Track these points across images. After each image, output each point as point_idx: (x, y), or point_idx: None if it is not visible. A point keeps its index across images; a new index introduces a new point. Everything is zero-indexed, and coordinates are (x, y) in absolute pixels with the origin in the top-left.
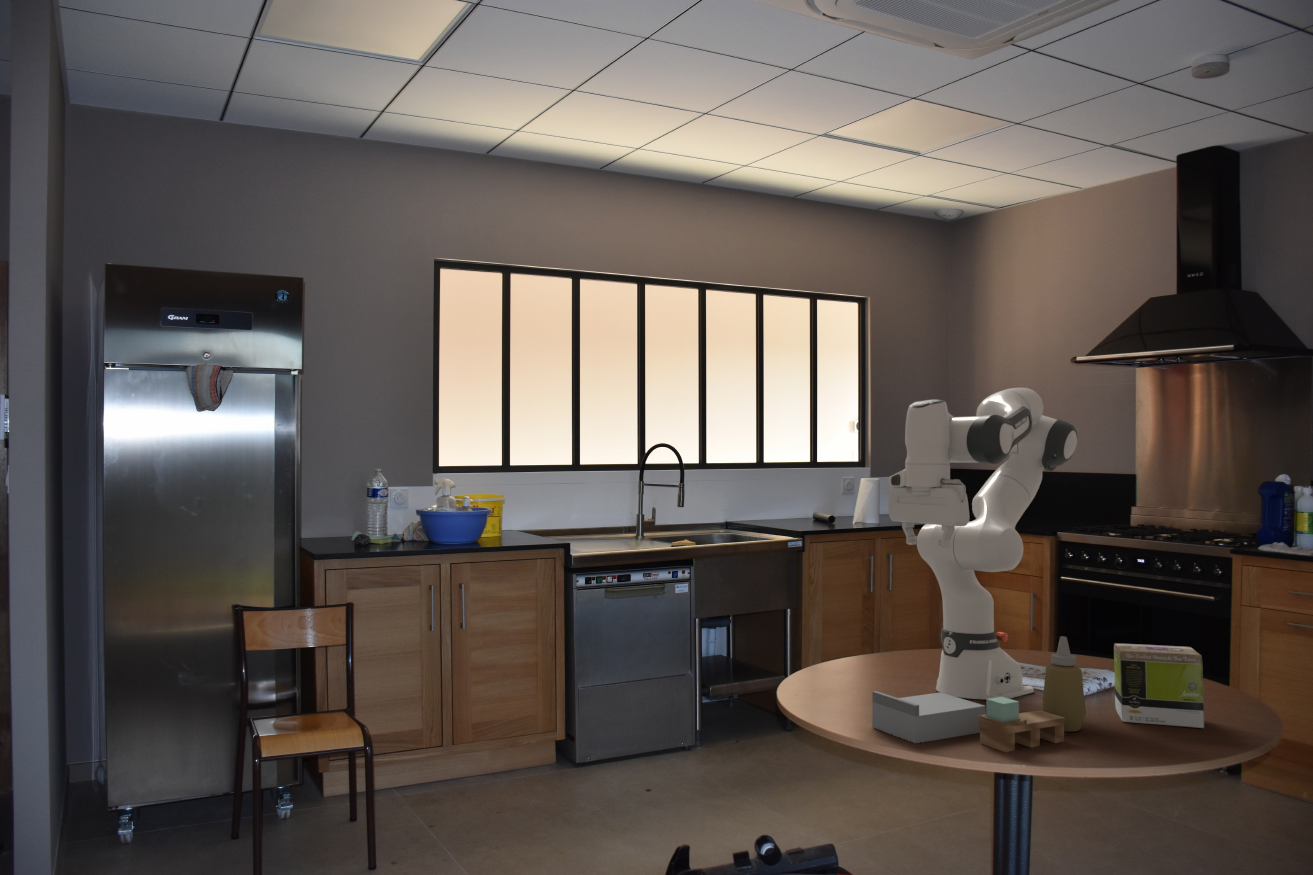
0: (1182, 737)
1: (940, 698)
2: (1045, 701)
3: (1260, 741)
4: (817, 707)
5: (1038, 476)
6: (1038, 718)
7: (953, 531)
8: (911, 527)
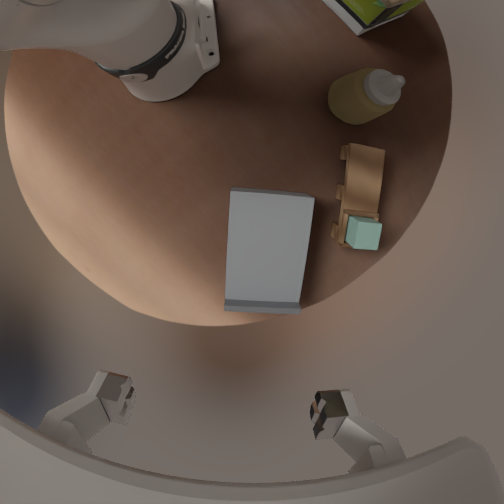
0: (412, 53)
1: (256, 219)
2: (346, 118)
3: (437, 28)
4: (136, 285)
5: None
6: (372, 179)
7: (393, 440)
8: (65, 421)
